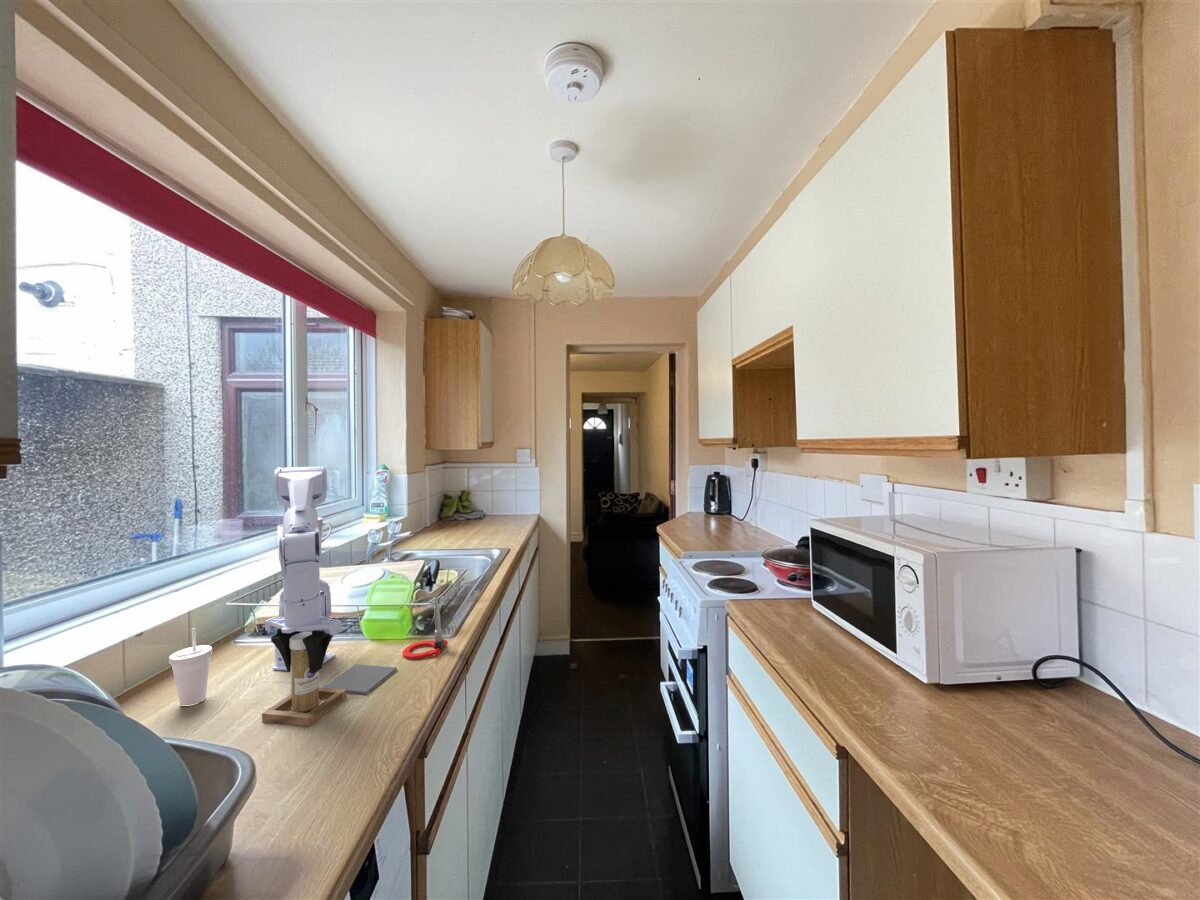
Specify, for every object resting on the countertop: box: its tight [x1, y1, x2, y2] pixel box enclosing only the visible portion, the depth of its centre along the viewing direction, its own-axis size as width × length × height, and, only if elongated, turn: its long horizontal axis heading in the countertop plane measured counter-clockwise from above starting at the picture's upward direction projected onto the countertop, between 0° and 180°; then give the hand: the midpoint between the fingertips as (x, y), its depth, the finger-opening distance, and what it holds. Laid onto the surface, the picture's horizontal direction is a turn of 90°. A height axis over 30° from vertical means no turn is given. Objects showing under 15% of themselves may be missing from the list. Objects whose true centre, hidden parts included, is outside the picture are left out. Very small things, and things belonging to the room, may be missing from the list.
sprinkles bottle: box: [290, 632, 320, 713], centre depth 88 cm, size 5×5×13 cm
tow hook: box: [401, 596, 449, 660], centre depth 111 cm, size 8×13×9 cm
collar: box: [261, 686, 348, 727], centre depth 88 cm, size 9×9×2 cm
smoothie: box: [168, 627, 213, 705], centre depth 91 cm, size 6×6×14 cm
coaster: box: [322, 663, 398, 696], centre depth 98 cm, size 10×10×1 cm
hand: (304, 669), depth 88 cm, fingers closed on sprinkles bottle, 4 cm apart
